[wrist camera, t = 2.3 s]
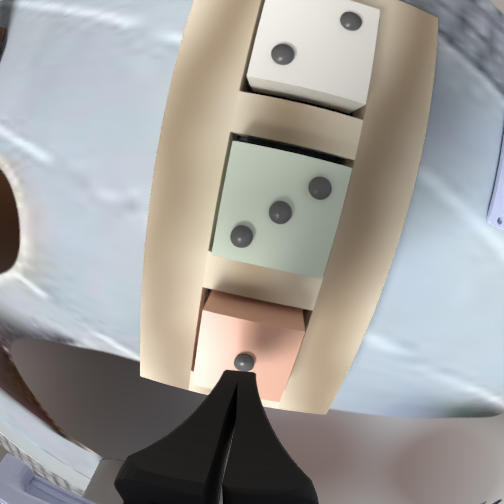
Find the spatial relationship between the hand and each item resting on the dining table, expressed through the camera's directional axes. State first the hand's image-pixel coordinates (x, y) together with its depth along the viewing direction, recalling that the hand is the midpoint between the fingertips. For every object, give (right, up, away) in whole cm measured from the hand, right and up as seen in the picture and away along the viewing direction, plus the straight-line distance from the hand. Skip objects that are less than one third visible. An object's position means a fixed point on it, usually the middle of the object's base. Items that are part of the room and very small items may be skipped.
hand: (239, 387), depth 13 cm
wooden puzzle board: (+2, +9, +3) cm, 10 cm away
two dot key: (+3, +16, +1) cm, 16 cm away
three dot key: (+2, +9, +3) cm, 10 cm away
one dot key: (0, +2, +6) cm, 6 cm away
